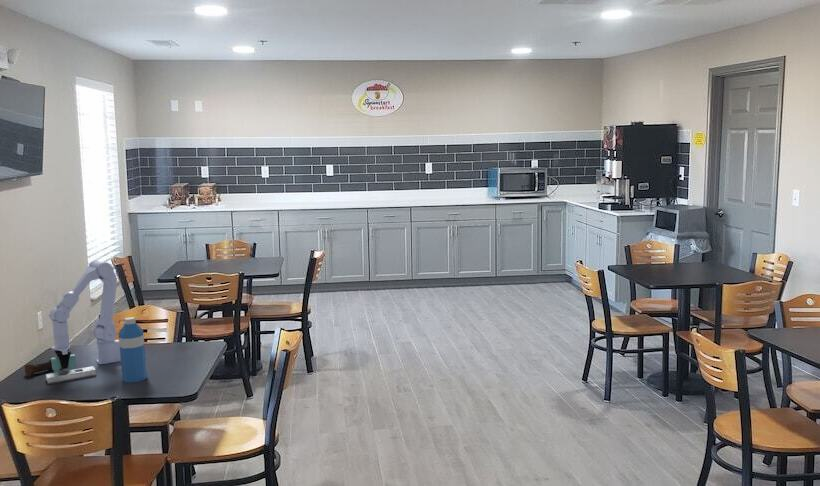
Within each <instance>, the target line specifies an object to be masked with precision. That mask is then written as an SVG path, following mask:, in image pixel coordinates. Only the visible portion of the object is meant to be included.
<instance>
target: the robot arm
mask: <svg viewBox="0 0 820 486" xmlns="http://www.w3.org/2000/svg"><path fill="white" fill-rule="evenodd" d="M96 280H100V282H102V285H103V286H102V294H101V304H100V314H99V319H98V320H97V322H96V324H95V328H94V329H93V336H94V338H95V339H96V347H97V359H96V362H97V363H98V364H99V365H106V364H111V363H117V362H121V357H120V345H119V339H116V338H117V333H118V332H117V330H116V323H115V321H114V315H115V314H114V311H115V302H116V294H117V286H118V285H117V284H118V278H117V275H116V273H115V268H114V266H113V265H112V264H110V262H105V261H99V260H93V261H91V262H90V263H89V264H88V266H87V267H86V268H85V270H84V272H83V274H82V275H81V277H80V278H79V279H78V281H77V282H76V284H75V286H74V287H73V288H72V290H71V291H67V292H66V293H64V294H62V298H61V300H60V301H59V302H58V303H56V305H55V307H53V308H51V310H50V311H49V314H48V317H49V319H50V320H51V321H52V332H53V333H52V335H53V341H54V342H53V343H54V345H53V346H52V347H51V350H53V351H54V353H55V355H56V356H57V357H58V358H59V360H60V363H61V367H62V368H61V369H62V370H65V369H69V367H68V364H69V358H70V355H72V351H70V348H71V344H70V337H69V336H70V335H69V326H68V325H69V323H68V319H69V318H70V314H71V311H72V310H73V309H74V308H75V306H76V305H77V304H78V302H79V301H80V295H81V294H82V293H83V292H84V290H85V289H86V288H88V287H87V286H89V285H90V283H92V281H96Z"/></svg>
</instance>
